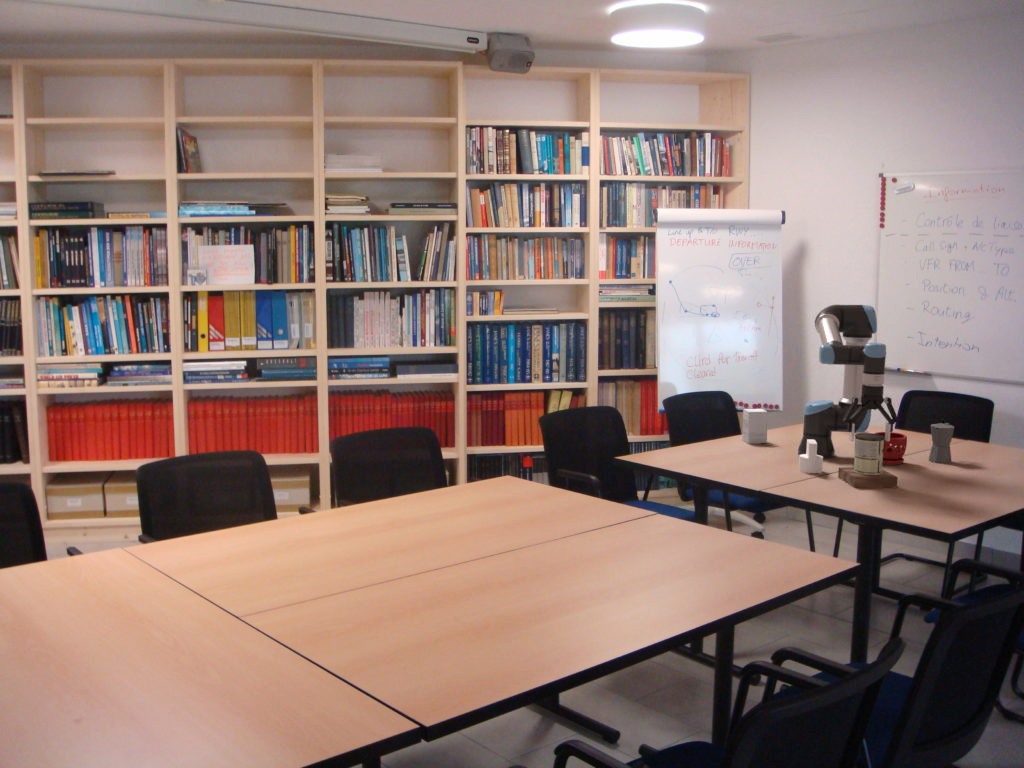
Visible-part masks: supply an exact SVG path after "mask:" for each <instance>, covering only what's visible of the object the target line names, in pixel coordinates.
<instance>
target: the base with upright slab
mask: <svg viewBox="0 0 1024 768" xmlns="http://www.w3.org/2000/svg"><path fill="white" fill-rule="evenodd" d="M823 465H824V458H823V456H820V455H817V442H816V441H815V440H813V439H807V449H806V454H801V455H799V457H798V471H799V472H800V471H801V472H800V473H803V472H805V473H804V474H810V473H819V474H822V473H823Z"/></svg>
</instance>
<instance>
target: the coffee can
mask: <svg viewBox="0 0 1024 768" xmlns="http://www.w3.org/2000/svg"><path fill="white" fill-rule="evenodd" d="M854 441H855V442H854V457H853V467H854V470H853V471H854V472H855V473H858V474H864V475H880V474H882V469H883V464H882V462H883V445H884V436H883V435H879V434H874V433H871V432H869V433H868V432H867V433H866V432H863V433H854Z"/></svg>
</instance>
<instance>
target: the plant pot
mask: <svg viewBox="0 0 1024 768" xmlns="http://www.w3.org/2000/svg"><path fill="white" fill-rule="evenodd" d="M873 434H879V435H883V436H884V445H883V462H882V465H887V464H892V465H891V466H893V465H894V466H897V465H896V464H898V465H902V464H903V463H904V461H905V459H904V455H905V452H906V450H907V446H908V436H907V435H906V434H904V433H900V432H894V431H892V432H890V441H886V440H885V431H879V432H875V433H873Z"/></svg>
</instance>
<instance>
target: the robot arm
mask: <svg viewBox="0 0 1024 768" xmlns="http://www.w3.org/2000/svg"><path fill="white" fill-rule="evenodd" d="M814 327H815V330H816V332H817V333H818V334H819V337H820V341H821V345H820V347H819V350H818V351H819V352H818V354H819V355H818V359H819V363H821V364H822V365H829V366H830V365H831V366H832V365H841V366H842V365H844V371H843V387H842V389H843V390H842V397H841V398H839V399H838V403H837V404H834V401H832V400H826V399H825V400H824V399H823V400H822V399H821V400H813V401H810V402H807V403H806V404H805V405H804V412H803V429H802V430H803V431H802V438H801V440H800V443H799V444H798V448H797V454H798V455H799V456H800V455H801V454H806V449H807V439H813V440H815V441H816V442H817V455H820V456H823V459H830V458H835V457H836V450H835V446H834V443H833V439H832V433H834V432H835V433H837V432H838V433H839V432H841V433H848V434H849V435H848V441H850V442H854V441H855V434H858V433H866V431H867V430H868V428H869V426H870V423H871V417H872V410H875V411H876V410H878V411H879V412H880V414H881V415H882V416H883V417H884V419H885V420H886V421H887V422H885V431H884V432H885V440H886V441H890V432H894V431H893V430H894V424H895V423H898V422H900V421H899V420H900V419H899V418H898V415H897V413H896V410H895V408H894V406H893V402H892V398H891V397H889V396H886V397H884V384H885V368H886V360H887V359H886V358H887V357H886V356H887V345H886V344H885V343H880V342H869V341H870V340H871V339H872V338H873V334H877V332H878V331H877V329H878V322H877V314H876V310H875V308H874V307H873V306H872V305H869V304H868V305H867V304H832V305H828V306H826V307H825V308H823V309H821V311H820V312H819V313H817V315H816V317H815V320H814ZM841 334H842V336H841ZM843 339H844V340H845V344H844V343H843ZM883 403H884V404H886V407H887V410H888V412H889V414H890V415H889V414H888V412H887V411H886V410H885V408H884V407H883Z"/></svg>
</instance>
